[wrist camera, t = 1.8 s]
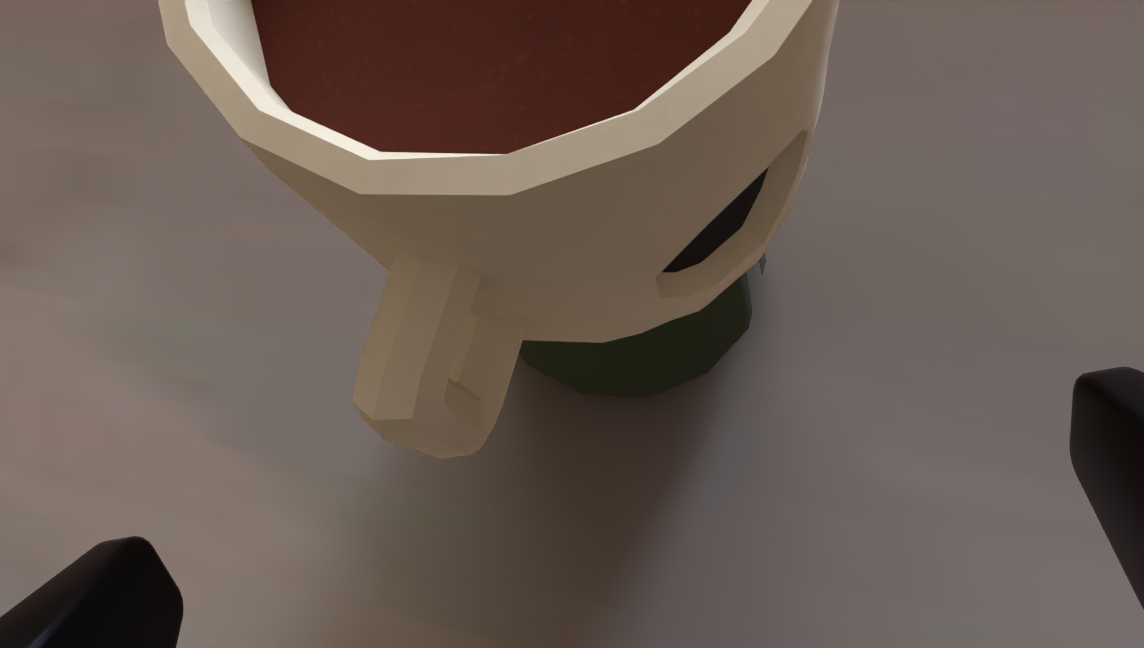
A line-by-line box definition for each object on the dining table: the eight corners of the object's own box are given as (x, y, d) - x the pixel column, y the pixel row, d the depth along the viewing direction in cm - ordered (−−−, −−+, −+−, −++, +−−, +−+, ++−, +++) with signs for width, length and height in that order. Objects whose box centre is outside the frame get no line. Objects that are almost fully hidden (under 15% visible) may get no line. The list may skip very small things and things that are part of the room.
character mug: (717, 546, 19) (699, 528, 7) (413, 455, 21) (-56, 304, 8) (833, 91, 21) (983, -564, 9) (549, 41, 23) (339, -575, 10)
